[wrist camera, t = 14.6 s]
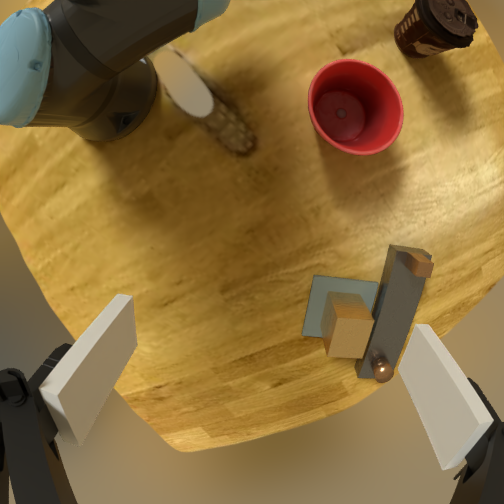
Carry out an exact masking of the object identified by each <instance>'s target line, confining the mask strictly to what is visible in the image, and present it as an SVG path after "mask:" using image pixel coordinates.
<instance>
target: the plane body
mask: <svg viewBox="0 0 504 504" xmlns="http://www.w3.org/2000/svg"><path fill="white" fill-rule="evenodd" d="M431 258H432V255H430V254H429V253H428V252H426V251H425V250H423V249H417V248H410V247H404V246H397V245H391V244H390V245H389V249H388V253H387V258H386V262H385V266H384V270H383V274H382V278H381V282H380V286H379V290H378V293H377V297H376V301H375V304H374V308H373V311H372V317H373V319H374V320H375V321H374V324H373V327H372V330H371V333H370V337H369V340H368V343H367V346H366V349H365V352H364V355H363V357H362V358H357V361H356V364H355V370H356V373H357V376H358V378H376V380H377V382H379V383H384V382H387V381H389V380H390V379H391V378H392V377H393V374H394V372H393V370H394V368H395V365H396V363H397V360H398V358H399V355H400V353H401V350H402V348H403V345H404V343H405V340H406V337H407V335H408V332H409V329H410V326H411V323H412V320H413V318H414V315H415V312H416V309H417V306H418V303H419V299H420V296H421V293H422V290H423V286H424V283H425V280H426V277H427V278H430V277H431V273H432V270H433V266H434V263H433V262H431Z"/></svg>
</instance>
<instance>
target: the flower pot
mask: <svg viewBox="0 0 504 504" xmlns="http://www.w3.org/2000/svg"><path fill="white" fill-rule="evenodd" d="M308 109H309V114H310V118H311V122H312V124H313V126H314V128H315V130H316V131H317V133H318V134H319V135H320V136H321V137H322V138H323V139H324V140H325V141H327V142H328V143H329V144H331V145H332V146H334V147H335V148H337V149H339V150H341V151H343V152H346V153H349V154H353V155H372V154H376V153H379V152H381V151H383V150H385V149H386V148H388V147H389V146H390V145H391V144H392V143H393V142H394V141H395V140H396V138H397V137H398V135H399V133H400V131H401V128H402V124H403V116H404V113H403V105H402V101H401V97H400V95H399V93H398V91H397V89H396V87H395V85H394V84H393V83H392V81H391V80H390V79H389V78H388V76H387V75H385V74H384V73H383V72H382V71H381V70H379V69H378V68H376V67H375V66H373V65H371V64H369V63H366V62H363V61H360V60H355V59H341V60H336V61H333V62H331V63H329V64H327V65H325V66H324V67H323V68H321V69H320V70H319V71H318V73H317V74H316V75H315V77H314V78H313V80H312V82H311V85H310V88H309V92H308Z"/></svg>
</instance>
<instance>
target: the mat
mask: <svg viewBox="0 0 504 504" xmlns="http://www.w3.org/2000/svg"><path fill="white" fill-rule="evenodd" d="M378 284H379V283H378V282H372V281H363V280H355V279H346V278H337V277H329V276H320V275H314V276H313V281H312V287H311V292H310V297H309V302H308V307H307V311H306V316H305V321H304V326H303V330H302V336H313V337H322V333H321V328H320V324H321V320H322V315H323V311H324V306H325V302H326V298H327V293H328V291H334V292H343V293H353V294H360V295H361V297H362V299H363V301H364V302H365V304H366V306H367V308H368V310H369V311H370V313H371V310H372V306H373V303H374V299H375V295H376V292H377V288H378Z"/></svg>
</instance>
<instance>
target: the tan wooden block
mask: <svg viewBox="0 0 504 504" xmlns="http://www.w3.org/2000/svg"><path fill="white" fill-rule="evenodd" d="M374 321H375V320H374V319H373V317H372V315H371V313H370V311H369V310H368V308H367V306H366V304H365V302H364V301H363V299H362V297H361V295H360V294H353V293H343V292H334V291H328V293H327V298H326V302H325V306H324V311H323V315H322V320H321V324H320V328H321V333H322V337H323V341H324V345H325V350H326V354H327V357H342V358H362V357H363V355H364V352H365V349H366V346H367V343H368V340H369V337H370V333H371V330H372V327H373V324H374Z"/></svg>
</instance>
